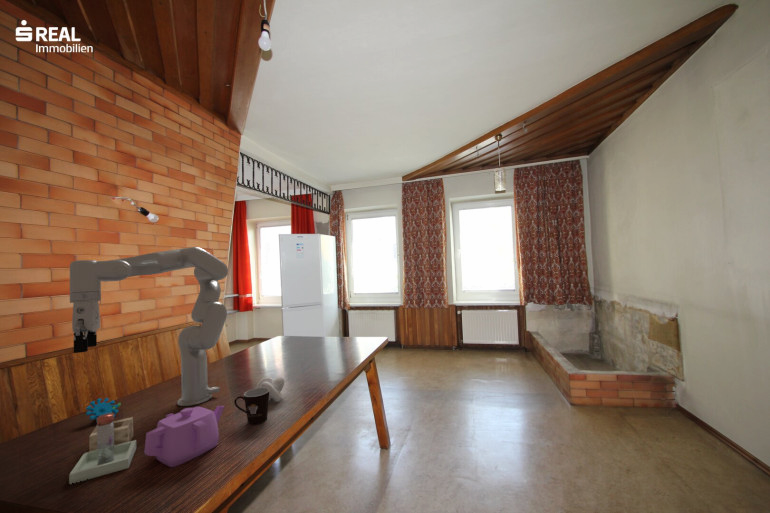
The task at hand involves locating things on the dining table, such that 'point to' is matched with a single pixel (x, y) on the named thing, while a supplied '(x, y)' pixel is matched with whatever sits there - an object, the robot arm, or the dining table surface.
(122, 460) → the tray
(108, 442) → the metal peg
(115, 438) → the socket block
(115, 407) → the gear
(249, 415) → the coffee mug
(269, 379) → the grey torus knot
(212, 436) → the teakettle
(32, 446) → the dining table surface
